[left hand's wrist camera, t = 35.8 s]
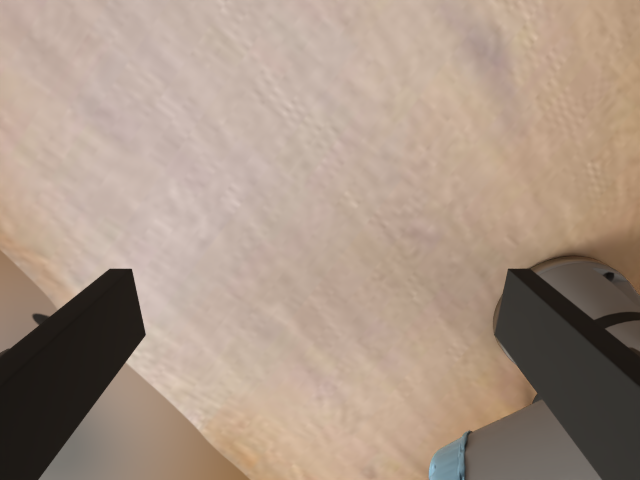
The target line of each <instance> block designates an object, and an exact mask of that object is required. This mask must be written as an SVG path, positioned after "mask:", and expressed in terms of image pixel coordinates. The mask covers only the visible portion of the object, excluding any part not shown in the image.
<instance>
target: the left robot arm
mask: <svg viewBox="0 0 640 480" xmlns="http://www.w3.org/2000/svg"><path fill="white" fill-rule="evenodd" d="M493 329H494V335H495V338H496V340H497V342H498V344H499V346H500V347H501V348H502V350H503V351H504V352H505V354H506V355H507V356H508V358H509V359H510V360H511V361H512V362H513V363H515V364H516V365H517V366H518V368H519V369H520V370H521V372H522V373H523V374H524V376H525V377H526V378H527V380H528V381H529V382H530V384H531V385H532V386H533V388H534V389H535V390H536V392H537V393H538V394H537V395H536V396H535V398H534V400H533V403H532V404H531V405H529V406H527V407H525V408H523V409H521V410H519V411H517V412H515V413H513V414H511V415H508V416H506V417H504V418H502V419H500V420H497V421H495V422H493V423H491V424H489V425H487V426H484V427H482V428H480V429H478V430H476V431H474V432H472V431H467V432H465V433H464V434H463V436H462V437H461V438H459V439H457V440H455V441H454V442H452V443H450V444H448V445H446V446H444V447H443V448H441V449H439V450H438V451H437V452H436V453H435V454H434V456H433V458H432V460H431V463H430V468H429V480H640V296H639V294H638V293H637V292H636V290H635V289H634V288H633V286H632V285H631V284H630V283H629V281H628V280H627V279H626V278H625V277H624V276H623V275H622V274H620V273H619V272H618V271H616V270H614V269H613V268H611V267H609V266H608V265H606V264H604V263H602V262H600V261H598V260H595V259H592V258H588V257H581V256H568V257H560V258H555V259H551V260H548V261H545V262H543V263H540V264H538V265H536V266H534V267H532V268H530V269H508V272H507V277H506V282H505V286H504V291H503V295H502V296H501V298H500V300H499V302H498V304H497V306H496V309H495V313H494V318H493ZM145 335H146V334H145V329H144V324H143V319H142V315H141V310H140V305H139V301H138V296H137V291H136V286H135V282H134V277H133V272H132V269H109V270H108V271H106V272H105V273H104V274H103V275H101V276H100V277H99V278H98V279H96V280H95V281H94V282H93V283H91V284H90V285H89V286H88V287H87V288H85V289H84V290H83V291H82V292H80V293H79V294H78V295H77V296H75V297H74V298H73V299H72V300H70V301H69V302H68V303H67V304H65V305H64V306H63V307H62V308H60V309H59V310H58V311H57V312H55V313H54V314H53V315H52V316H50V317H49V318H48V319H47V320H45V321H44V322H43V323H42V324H40V325H39V326H38V327H37V328H35V329H34V330H33V331H32V332H30V333H29V334H28V335H27V336H25V337H24V338H23V339H22V340H20V341H19V342H18V343H17V344H15V345H14V346H13V347H12V348H10V349H6V350H5V351H3V352H1V353H0V480H38V479H39V478H40V477H41V475H42V474H43V473H44V471H45V470H46V468H47V467H48V466H49V464H50V463H51V462H52V460H53V459H54V458H55V456H56V455H57V454H58V452H59V451H60V450H61V448H62V447H63V446H64V444H65V443H66V441H67V440H68V439H69V438H70V436H71V435H72V433H73V432H74V431H75V429H76V428H77V427H78V425H79V424H80V423H81V421H82V420H83V419H84V417H85V416H86V415H87V413H88V412H89V411H90V409H91V408H92V407H93V405H94V404H95V403H96V401H97V400H98V398H99V397H100V396H101V394H102V393H103V392H104V390H105V389H106V388H107V386H108V385H109V384H110V382H111V381H112V380H113V378H114V377H115V376H116V374H117V373H118V371H119V370H120V369H121V367H122V366H123V365H124V363H125V362H126V361H127V359H128V358H129V357H130V355H131V354H132V353H133V351H134V350H135V349H136V347H137V346H138V345H139V343H140V342H141V341H142V339H143V338H144V337H145Z"/></svg>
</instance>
